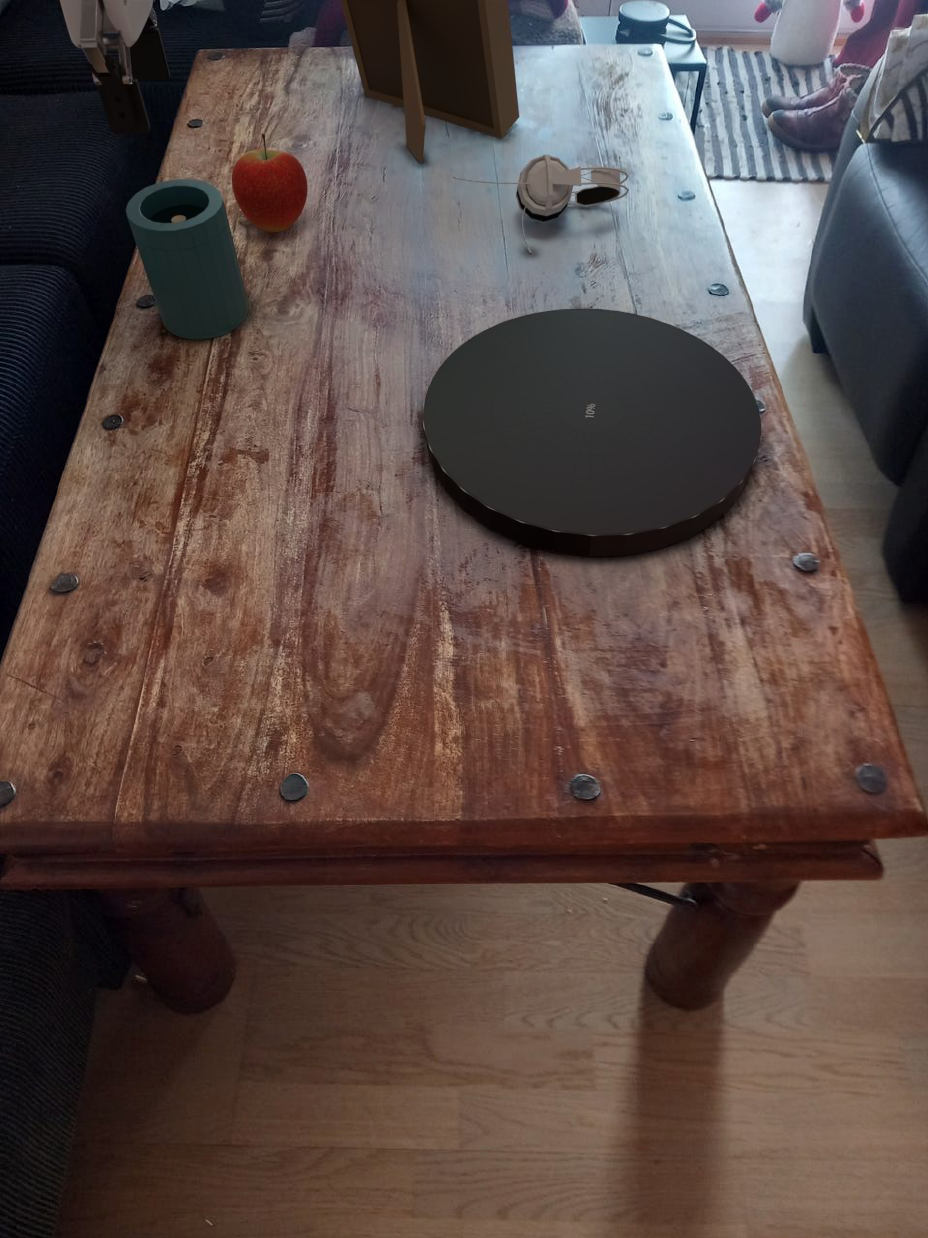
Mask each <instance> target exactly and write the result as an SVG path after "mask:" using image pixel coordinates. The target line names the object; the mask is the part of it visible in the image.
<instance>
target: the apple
mask: <svg viewBox="0 0 928 1238" xmlns="http://www.w3.org/2000/svg"><path fill="white" fill-rule="evenodd" d="M261 138H262V140H263V147H264V148H263V149H261V148H260V149H253V150H249V151H246V152H245V153H243V154H242V155H240V157H238V159H237V160H236V162H235V163H234V166H233V167H232V171H231V187H232V192H233V196H234V199H235V201H236V203H237V206H238V207H239V209H240V210H241V213H242V214H243V215H244V217H245V218H246V219H247V221H249V222H250V223H251V224H252V225H253V226H254V227H256V228H257V229H259V230H262V231H264V232H268V233H280V232H283V231H285V230H287V229H290V228H291V227H292V226H293V225H295V223H296V222H297V221H298V219H299V218H300V217H301V215H302V213H303V211H304V208H305V206H306V203H307V198H308V189H309V188H308V177H307V175H306V172H305V169H304V167H303V166H302V164H301V162H300V161H299V160H298V158H296V156H294V155H293V154H291V153H289V152H287V151H282V150H281V151H280V150H274V149H267V147H266V135H265V134H264V133H261Z"/></svg>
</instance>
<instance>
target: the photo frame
mask: <svg viewBox="0 0 928 1238" xmlns="http://www.w3.org/2000/svg"><path fill="white" fill-rule="evenodd" d="M340 5H341V8H342V12H343V16H344V20H345V24H346V27H347V33H348V36H349V40H350V44H351V47H352V51H353V54H354V59H355V63H356V67H357V71H358V74H359V77H360V83H361V86H362V89H363V94H364V97H366V98H369V99H372V100H375V101H378V102H382V103H385V104H389V105H392V106H395V107H398V108H400V109H403V111H404V113H403V115H404V127H405V142H406V143H405V144H406V148H407V150H409V151H410V153H411V154H412V155H413V157H414V158H415V159H416V160H417V161H418V162H419V163H423V162H424V153H425V143H426V142H425V141H426V128H427V125H426V118H425V116H427V117H430V118H433V119H436V120H440V121H442V122H446V123H450V124H453V125H456V126H459V127H461V128H465V129H469V130H472V131H474V132H478V133H481V134H485V135H488V136H491V137H495V138H497V139H500V140H502V139H503V138H504V137H505V136H506V135H507V133H508V132H509V131H510V130H511V128H512V127H513V126H514V125H515V123H516V122H517V121H518V119H519V118H520V109H519V107H520V106H519V100H518V99H519V98H518V90H517V89H518V88H517V87H518V86H517V78H516V69H515V68H516V67H515V58H514V49H513V47H514V46H513V38H512V27H511V15H510V8H509V0H340Z"/></svg>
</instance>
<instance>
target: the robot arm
mask: <svg viewBox="0 0 928 1238" xmlns="http://www.w3.org/2000/svg"><path fill="white" fill-rule="evenodd" d="M59 2H60V6H61V9H62V14H63V17H64V21H65V24H66V27H67V32H68V34H69V37H70V40H71V43H73V45H74V46H75V47H76V48H77V49H82V51H83V53H84V55H85V57H86V59H87V68H88V69H89V70H90V72H91V74H92V79H93V80H92V81H93V83H94V85H95V86H96V88H97V91H98V94H99V98H100V101H101V104H102V107H103V112H104V114H105V117H106V121H107V124H108V127H109V130H110V132H111V134H114V135H145V134H146V135H147V134H149V132H150V130H151V124H150V119H149V116H148V113H147V109H146V106H145V102H144V101H145V100H144V98H143V94H142V90H141V88H140V84H139V82H166V81H168V80H170V77H171V71H170V68H169V67H170V66H169V62H168V58H167V55H166V51H165V47H164V43H163V39H162V35H161V31H160V28H159V27H158V18H157V14H156V11H155V9H154V8H153V5H154V4H153V3H154V0H59ZM104 34H118V36H104ZM107 51H108V52H109V51H115V52H116V51H117V52H118V60H119V62H118V61H117V59H116V58H115V56H113V55H112V54H108V53H107Z"/></svg>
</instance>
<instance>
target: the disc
mask: <svg viewBox="0 0 928 1238" xmlns="http://www.w3.org/2000/svg"><path fill="white" fill-rule="evenodd" d="M757 402H758V401H757V399H756V396H755V393H754V392H753V390H752V388H751V386H750V385H749V384H748V382H747V380H746V379H745V377H744V376H743V374H742V373H741V371H739V370H738V368H736V366H735V365H733V364H732V363H731V362H730V360H729V359H728V358H727V357H726V356H725V355H724V354H723V353H721V352H720V351H719V350H717V349H716V348H714V347H713V346H712V345H710V344H708V343H707V342H706V341H704V340H703V339H702V338H701V337H700V338H699V337H697V336H696V335H693V334H692V333H689V332H688V331H685V330H684V329H682V328H680V327H677V326H675V325H672V324H670V323H667V322H664V321H661V320H658V319H656V318H653V317H649V316H645V315H642V314H641V315H640V314H636V313H632V312H628V311H627V312H626V311H621V310H615V309H614V310H613V309H601V308H589V307H586V308H585V307H582V308H558V309H552V310H545V311H539V312H538V311H537V312H532V313H528V314H524V315H521V316H517V317H514V318H511V319H507V320H503V321H502V322H499V323H497V324H495V325H492V326H491V327H488V328H486V329H484V330H482V331H479V332H478V333H476V334H475V335H473V336H472V337H471V338H469V339H468V340H466V341H464V342H463V343H462V344H460V345H458V346H457V347H456V349H455V350H453V351H452V352H451V353H450V355H449V356H447V358H446V359H445V360H443V362H441V363H440V365H439V366H438V369H437V370H436V372H435V374H434V375H433V377H432V379H431V380H430V382H429V383H428V388H427V390H426V394H425V397H424V401H423V403H422V406H423V408H422V409H423V410H422V413H423V416H422V417H423V419H422V420H423V423H422V424H423V429H424V433H425V444H426V445H425V446H426V447H425V449H426V451H427V455H428V458H429V462H430V465H431V469H432V472H433V473H434V475H435V477H436V479H437V480H438V481H439V483H440V485H441V487H442V488H443V490H444V491H445V493H446V494H447V495H448V496H449V497H450V498H451V499H452V500H453V501H454V502H455V503H456V504H457V505H458V506H459V508H461V509H462V510H463V511H464V512H465V513H466V514H467V515H469V516H470V517H471V518H473V519H474V520H476V521H477V522H479V523H481V524H482V525H483V526H484V527H486V528H488V529H489V530H491V531H493V532H495V533H497V534H500V535H502V536H503V537H506V538H508V539H510V540H512V541H514V542H517V543H519V544H522V545H525V546H526V545H527V546H530V547H533V548H537V549H541V550H543V551H548V552H551V553H557V554H563V555H564V554H565V555H573V556H582V557H587V558H588V557H622V556H623V557H625V556H629V555H634V554H640V553H641V554H642V553H646V552H651V551H656V550H661V549H663V548H665V547H668V546H671V545H674V544H677V543H679V542H682V541H685V540H687V539H690V538H691V537H693V536H695V535H696V534H698V533H700V532H701V531H703V530H704V529H706V528H708V527H710V526H711V525H713V524H715V523H716V522H717V521H718V520H719V519H720V518H721V517H722V516H723V515H725V513H727V511H728V510H730V509H731V508H732V507H733V506H734V505H735V503H736V502H737V500H738V498H739V497H740V496H741V493H742V492H743V491H744V489H745V487H746V486H747V484H748V482H749V478H750V475H751V471H752V469H753V465H754V463H755V462H756V459H757V456H758V451H759V448H760V445H761V441H762V415H761V412H760V409H759V406H758V403H757Z"/></svg>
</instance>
